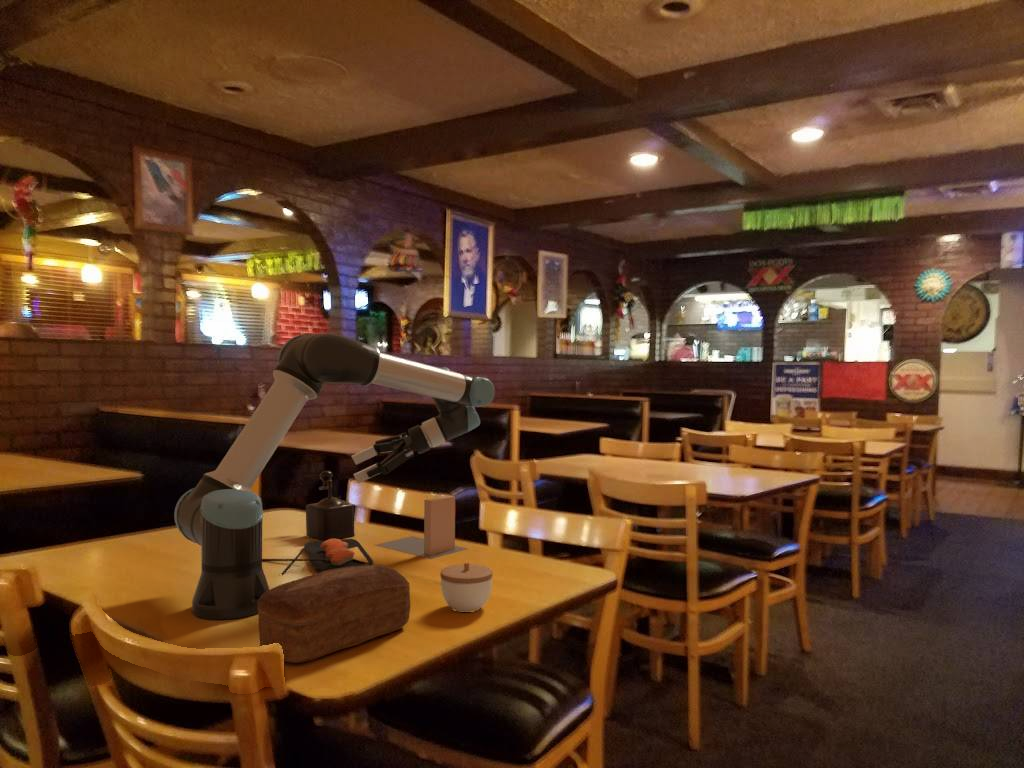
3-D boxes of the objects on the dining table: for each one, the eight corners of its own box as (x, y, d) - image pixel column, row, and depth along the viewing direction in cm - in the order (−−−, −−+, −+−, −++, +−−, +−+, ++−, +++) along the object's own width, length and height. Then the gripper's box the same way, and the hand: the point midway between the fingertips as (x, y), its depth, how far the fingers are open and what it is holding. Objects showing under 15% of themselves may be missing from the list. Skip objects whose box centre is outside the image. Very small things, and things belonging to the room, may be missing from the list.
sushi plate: (375, 571, 181) (376, 556, 180) (245, 584, 170) (245, 567, 170) (355, 544, 208) (355, 531, 208) (242, 553, 197) (242, 539, 197)
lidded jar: (465, 596, 160) (465, 553, 160) (502, 607, 153) (503, 562, 153) (429, 609, 152) (429, 563, 151) (467, 620, 145) (468, 573, 145)
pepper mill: (357, 536, 216) (357, 474, 215) (324, 542, 208) (324, 478, 208) (328, 527, 227) (328, 469, 226) (296, 533, 219) (296, 472, 218)
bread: (245, 653, 128) (245, 583, 128) (373, 612, 150) (373, 552, 149) (291, 675, 119) (291, 599, 119) (420, 628, 141) (420, 564, 140)
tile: (454, 548, 198) (455, 496, 197) (430, 555, 191) (430, 501, 191) (448, 547, 199) (448, 495, 199) (424, 553, 192) (424, 499, 192)
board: (468, 552, 198) (468, 548, 198) (431, 562, 187) (431, 558, 187) (412, 539, 212) (412, 536, 212) (374, 548, 201) (374, 544, 201)
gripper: (437, 464, 193) (363, 499, 191) (425, 433, 217) (358, 464, 214) (426, 439, 191) (350, 475, 188) (415, 411, 214) (347, 442, 212)
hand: (354, 469), depth 201 cm, fingers open, 13 cm apart
